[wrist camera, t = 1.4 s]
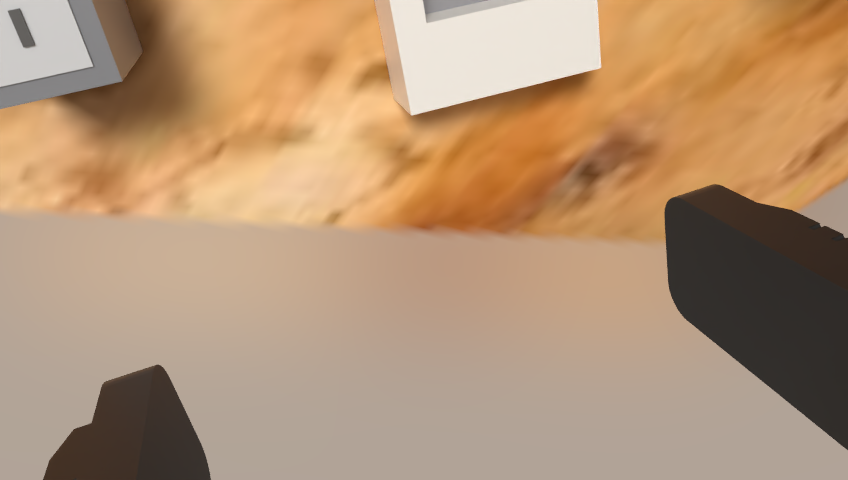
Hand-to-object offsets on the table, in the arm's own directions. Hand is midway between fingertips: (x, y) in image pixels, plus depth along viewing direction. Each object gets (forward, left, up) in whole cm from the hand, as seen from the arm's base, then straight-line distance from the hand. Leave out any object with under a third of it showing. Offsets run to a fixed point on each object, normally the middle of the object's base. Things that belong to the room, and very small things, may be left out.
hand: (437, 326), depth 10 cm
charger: (-5, -7, -19) cm, 21 cm away
